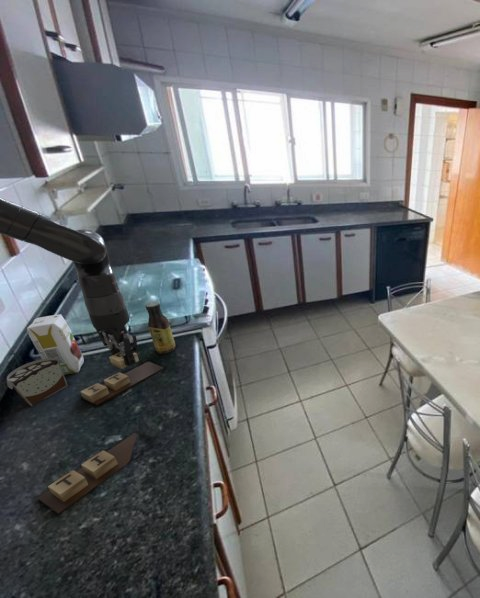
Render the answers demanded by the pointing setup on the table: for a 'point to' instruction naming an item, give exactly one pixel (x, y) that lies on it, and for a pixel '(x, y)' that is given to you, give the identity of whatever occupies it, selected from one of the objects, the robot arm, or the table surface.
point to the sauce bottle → (160, 329)
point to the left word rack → (87, 476)
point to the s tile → (120, 360)
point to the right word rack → (119, 383)
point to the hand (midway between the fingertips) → (125, 361)
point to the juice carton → (56, 342)
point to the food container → (37, 380)
